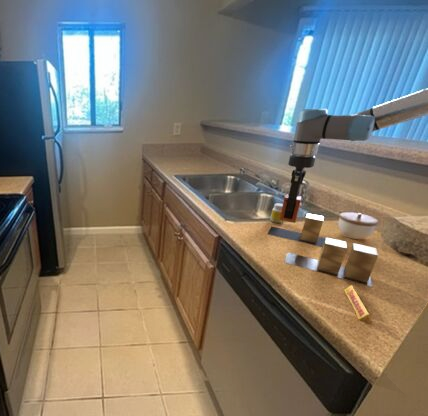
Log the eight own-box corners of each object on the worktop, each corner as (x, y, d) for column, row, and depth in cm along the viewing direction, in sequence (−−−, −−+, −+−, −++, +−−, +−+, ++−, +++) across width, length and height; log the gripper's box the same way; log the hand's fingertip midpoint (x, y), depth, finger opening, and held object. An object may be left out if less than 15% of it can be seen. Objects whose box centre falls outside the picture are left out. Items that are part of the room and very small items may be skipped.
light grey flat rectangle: (369, 274, 82) (369, 273, 82) (372, 287, 76) (372, 286, 76) (287, 252, 94) (287, 252, 94) (284, 263, 89) (284, 262, 89)
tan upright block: (337, 267, 85) (346, 241, 82) (337, 274, 82) (347, 248, 79) (317, 262, 88) (325, 237, 85) (317, 269, 85) (325, 243, 81)
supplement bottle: (282, 226, 114) (287, 207, 111) (269, 224, 117) (273, 205, 114) (282, 222, 118) (286, 203, 115) (269, 220, 121) (273, 202, 117)
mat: (325, 238, 104) (325, 238, 103) (324, 248, 97) (324, 247, 97) (271, 226, 114) (271, 226, 114) (267, 234, 108) (267, 234, 107)
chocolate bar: (355, 292, 74) (357, 286, 74) (372, 323, 64) (375, 315, 64) (343, 290, 76) (345, 283, 75) (358, 319, 65) (361, 312, 65)
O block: (317, 238, 103) (323, 216, 100) (316, 243, 100) (323, 220, 97) (301, 234, 106) (307, 213, 103) (299, 239, 103) (305, 217, 99)
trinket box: (345, 228, 111) (352, 206, 108) (378, 239, 102) (386, 216, 99) (327, 232, 108) (334, 210, 105) (359, 245, 99) (368, 221, 95)
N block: (365, 274, 82) (376, 248, 78) (367, 282, 78) (378, 255, 75) (344, 268, 84) (353, 243, 81) (344, 276, 81) (353, 249, 78)
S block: (296, 218, 106) (301, 196, 103) (295, 222, 102) (300, 200, 99) (281, 215, 109) (286, 194, 106) (279, 219, 105) (284, 197, 102)
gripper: (293, 150, 105) (280, 207, 114) (287, 158, 92) (273, 221, 101) (317, 152, 101) (302, 210, 109) (314, 160, 88) (298, 226, 96)
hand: (288, 215), depth 105 cm, fingers closed on S block, 5 cm apart
